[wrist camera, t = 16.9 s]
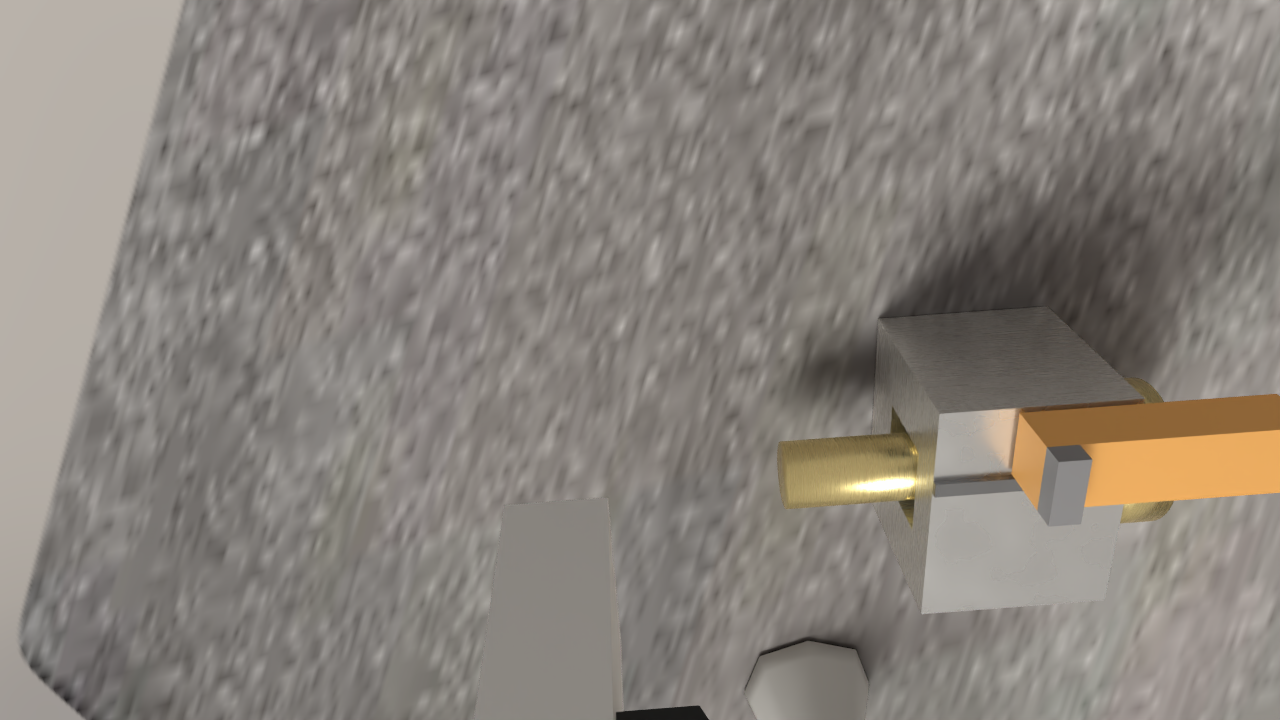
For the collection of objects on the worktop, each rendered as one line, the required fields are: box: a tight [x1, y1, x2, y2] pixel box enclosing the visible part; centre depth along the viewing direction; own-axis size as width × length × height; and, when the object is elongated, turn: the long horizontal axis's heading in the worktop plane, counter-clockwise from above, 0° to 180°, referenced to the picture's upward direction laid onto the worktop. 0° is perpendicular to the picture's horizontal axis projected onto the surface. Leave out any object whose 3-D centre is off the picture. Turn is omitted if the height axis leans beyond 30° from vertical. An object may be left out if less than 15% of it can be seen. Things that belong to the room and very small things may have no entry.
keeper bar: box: [1011, 394, 1280, 527], centre depth 36 cm, size 3×10×4 cm, turn 93°
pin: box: [777, 378, 1174, 523], centre depth 43 cm, size 6×16×6 cm, turn 93°
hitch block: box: [872, 306, 1145, 614], centre depth 43 cm, size 10×8×9 cm
